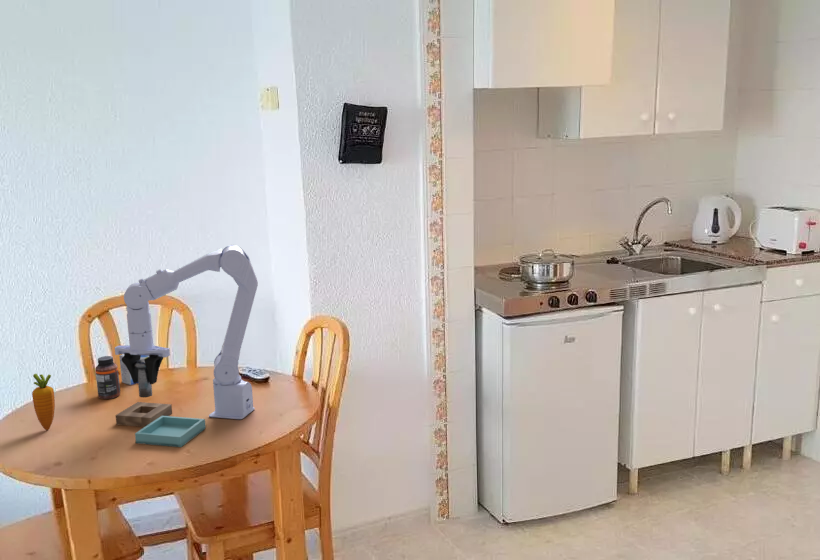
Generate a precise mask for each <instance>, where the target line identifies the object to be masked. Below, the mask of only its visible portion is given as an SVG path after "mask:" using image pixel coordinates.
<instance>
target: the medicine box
mask: <svg viewBox="0 0 820 560" xmlns="http://www.w3.org/2000/svg"><path fill="white" fill-rule="evenodd" d="M123 357H124V354H120V355H119V365H120V367H119V368H120V374H121V383H123V384H126V385H128V386H133V385H136V384H138V382H137V383H133V380H132V377H131V375H130V373H129V371H128V369H127V367H126V366H125V364H124V363H123V362H122V358H123ZM148 357H149V356H145V355H141V357H140V360H141V359H146V358H148Z"/></svg>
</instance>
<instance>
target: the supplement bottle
mask: <svg viewBox="0 0 820 560" xmlns="http://www.w3.org/2000/svg"><path fill="white" fill-rule="evenodd" d="M94 372H95V381H96V390H97V394H98V396H97V397H98V398H99V399H100V400H101V399H102V400H111V399H115V398H117V397H119V396H120V395H121V387H120V377H119V366H118V365H117V363H115V362H114V357H113V356H112V355H105V356H101V357H98V358H97V365H96V366H95V370H94Z"/></svg>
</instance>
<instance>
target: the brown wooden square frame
mask: <svg viewBox="0 0 820 560" xmlns="http://www.w3.org/2000/svg"><path fill="white" fill-rule="evenodd" d="M172 414H173V406H172V404H171V403H160V402H159V403H158V402H145V401H143V402H142V401H137V402H135V403H134V404H131V405H130V406H129V407H127V408H125V409H123V410H122V411H120V412H119V413H117V414H115V424H116V425H117V426H118V425H119V426H130V427H141V428H144V427H145V426H147V425H149V424H150V423H152V422H153V421H155V420H156V419H158V418H159V417H161V416H172Z"/></svg>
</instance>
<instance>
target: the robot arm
mask: <svg viewBox="0 0 820 560" xmlns="http://www.w3.org/2000/svg"><path fill="white" fill-rule="evenodd" d="M221 269H222V270H223V272H224V273H225V274H227V275H229V277H231V278H232V279H233V281H234V282H235V283H236V286H238V287H237V290H236V291H237V292H236V294H235V295H236V296H235V298H234V299H235V300H234V301H233V306H232V309H231V310H232V311H231V313H230V318H229V321H228V325H227V328H226V333H225V336H224V339H223V343H222V345H221V350H220V351H219V353H218V354H217V355H216V356H215V358H214V361H213V366H214V368H213V377H214V378H213V379H212V384H213V387H212V388H213V399H214V401H213V403H214V411H213V412H211V413H209V415H208V417H209V418H220V419H232V420H233V419H234V420H242V419H245V418H246V417H247V416H248V415H250V413H252V412H253V411H254V410H255V407H254V399H253V398H254V397H253V387H252V384H251V383H250V382H249V381H245V380H243V379H242V376H241V375H240V369H239V360H240V354H241V349H242V345H243V342H244V337H245V333H246V330H247V327H248V322H249V319H250V314H251V312H252V307H253V304H254V301H255V300H254V299H255V296H256V294H257V293H256V292H257V289H258V279H257V275H256V273H255V271H254V268H253V265H252V263H251V260H250V257H249V255H248V254H247V253H246V251H244V249H243V248H242V247H240V246H239V245H236V244H230V245H227V246H225V247H224V248H219V249H218V248H217V249H216V250H213V251H211V252H209V253H206V254H204V255H203V256H200V257H198V258H197V259H194V260H193V261H191V262H189V263H187V264H185V265H183V266H181V267H178V268H177V269H176V270H170V269H168V268H167V269H166V268H165V269H162V268H160V269H158V270H156V272H155V274H153V275H151V276H148V277H146V278H145V279H144V278H140V279H138V282H133V283H131V284H130V285H129V286H128V287H127V288H126V290H125V291H124V294H123V302H124V303H125V305H126V312H127V313H126V320H127V321H126V324H127V332H128V333H127V334H128V343H129V344H128V345H125V344H124V345H116V346H115V347H114V354H115V356H118V355H119V356H120V355H124V357H123V358H122V362H123V363H124V364H125V366H126V367H127V369H128V371H129V373H130V375H131V377H132V380H133V383H137V382H138V374H137V368H136V367H134V362H135V361H137V360H140V357H141V355H145V356H149V357H148V358H146V359H144V361H145V363H146V366H147V369H148V375H149V382H150V384H152V385H154V384H156V383H157V380H158V374H159V370H160V367H161V364H162V361H163V360H164V358H168V357H169V356H171V350H170V348H169V347H163V346H159V345H154V334H153V325H152V313H151V311H150V303H149V301H155V300H157V299H160V298H161V297H164V296H166V295H168V294H171V293H172V292H175V291H177V290H178V288H179V285H180V283H181V282H184V281H185V280H188V279H190V278H192V277H196V276H198V275H200V274H202V273H205V272H207V271H212V272H219V273H220V272H221ZM137 384H138V383H137Z"/></svg>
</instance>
